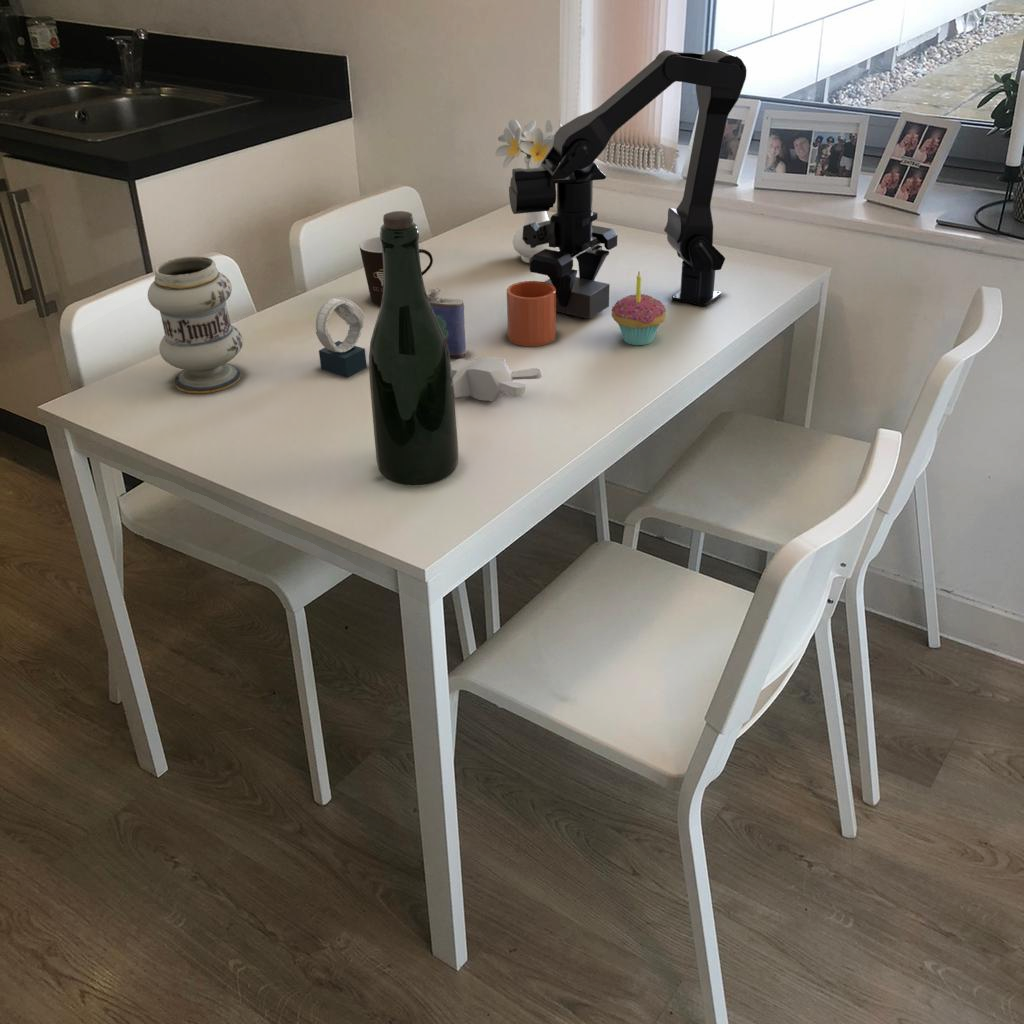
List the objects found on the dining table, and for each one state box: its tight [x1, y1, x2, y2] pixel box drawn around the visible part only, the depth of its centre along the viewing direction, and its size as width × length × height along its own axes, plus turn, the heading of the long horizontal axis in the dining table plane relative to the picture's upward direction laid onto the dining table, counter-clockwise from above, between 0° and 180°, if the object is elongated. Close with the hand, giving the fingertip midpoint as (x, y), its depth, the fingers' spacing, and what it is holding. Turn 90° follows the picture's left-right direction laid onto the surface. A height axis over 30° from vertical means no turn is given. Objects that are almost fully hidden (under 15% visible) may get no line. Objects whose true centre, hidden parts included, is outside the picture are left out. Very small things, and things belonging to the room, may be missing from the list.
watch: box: [315, 296, 368, 378], centre depth 162 cm, size 6×8×11 cm
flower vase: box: [495, 118, 563, 264], centre depth 198 cm, size 13×18×25 cm
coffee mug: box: [358, 236, 434, 307], centre depth 185 cm, size 12×9×10 cm
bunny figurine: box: [451, 356, 543, 402], centre depth 155 cm, size 10×5×15 cm
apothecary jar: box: [147, 255, 244, 395], centre depth 158 cm, size 12×12×18 cm
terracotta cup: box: [506, 280, 557, 347], centre depth 171 cm, size 8×8×8 cm
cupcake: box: [611, 271, 667, 346], centre depth 168 cm, size 9×8×12 cm
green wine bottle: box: [368, 210, 459, 487], centre depth 129 cm, size 10×10×33 cm
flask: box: [427, 286, 467, 359], centre depth 166 cm, size 9×3×11 cm, turn 68°
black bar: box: [544, 276, 611, 320], centre depth 181 cm, size 6×10×4 cm, turn 56°
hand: (574, 299), depth 181 cm, fingers closed on black bar, 6 cm apart
